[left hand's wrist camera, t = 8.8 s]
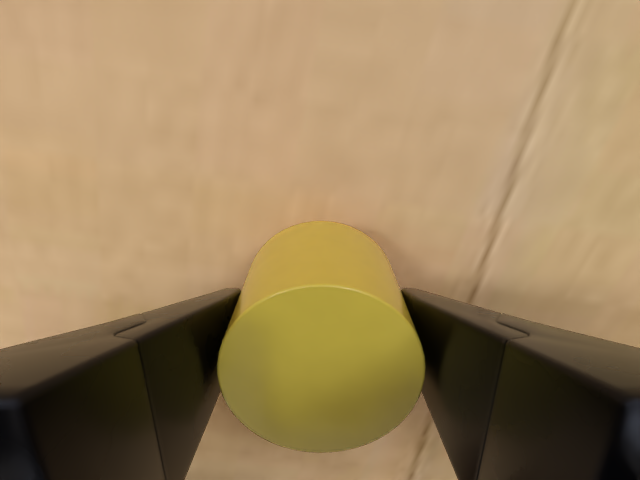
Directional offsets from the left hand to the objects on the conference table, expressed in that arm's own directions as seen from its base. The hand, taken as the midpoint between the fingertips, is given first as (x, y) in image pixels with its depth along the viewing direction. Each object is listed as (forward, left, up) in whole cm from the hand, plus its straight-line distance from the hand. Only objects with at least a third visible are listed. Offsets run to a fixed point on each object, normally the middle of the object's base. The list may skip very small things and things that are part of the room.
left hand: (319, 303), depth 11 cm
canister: (0, 0, -1) cm, 1 cm away
